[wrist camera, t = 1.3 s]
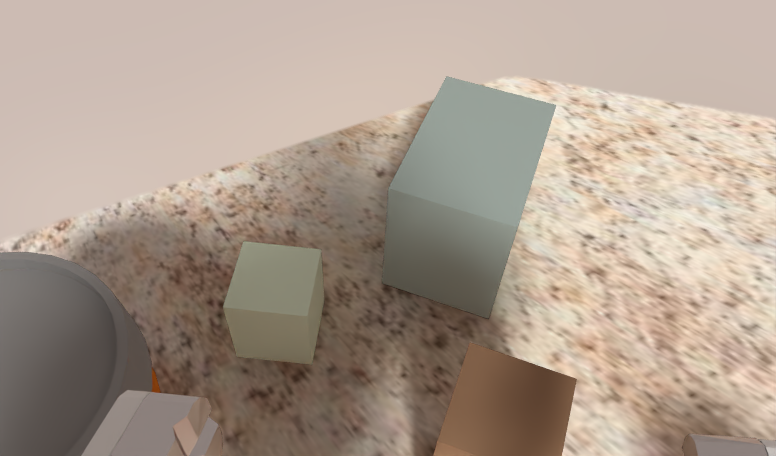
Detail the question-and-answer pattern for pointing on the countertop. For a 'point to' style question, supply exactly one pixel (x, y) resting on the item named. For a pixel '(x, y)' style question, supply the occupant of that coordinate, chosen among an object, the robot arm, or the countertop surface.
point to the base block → (463, 194)
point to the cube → (275, 302)
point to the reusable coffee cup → (62, 355)
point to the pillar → (505, 408)
